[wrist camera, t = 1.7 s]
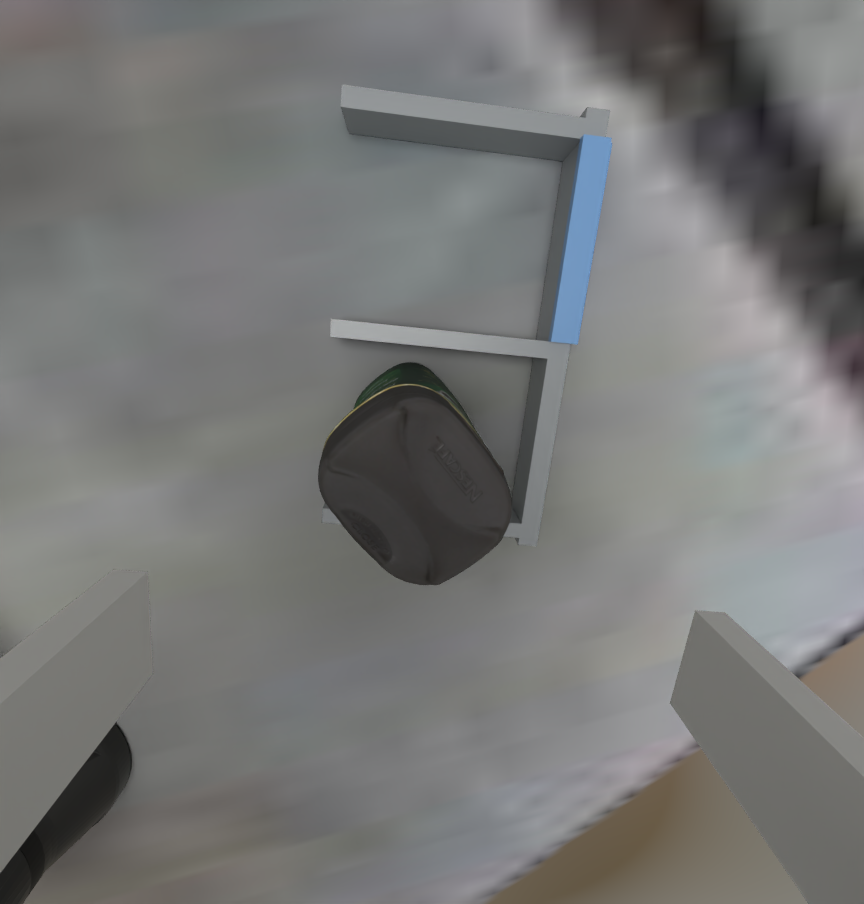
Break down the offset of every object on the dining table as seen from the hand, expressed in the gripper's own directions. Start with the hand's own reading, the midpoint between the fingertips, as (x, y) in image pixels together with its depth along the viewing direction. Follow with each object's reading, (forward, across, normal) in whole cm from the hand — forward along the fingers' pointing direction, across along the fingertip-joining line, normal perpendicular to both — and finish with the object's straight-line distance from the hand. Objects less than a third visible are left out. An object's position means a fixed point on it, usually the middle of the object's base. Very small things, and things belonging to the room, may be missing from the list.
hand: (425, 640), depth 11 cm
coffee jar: (+28, 0, 0) cm, 28 cm away
